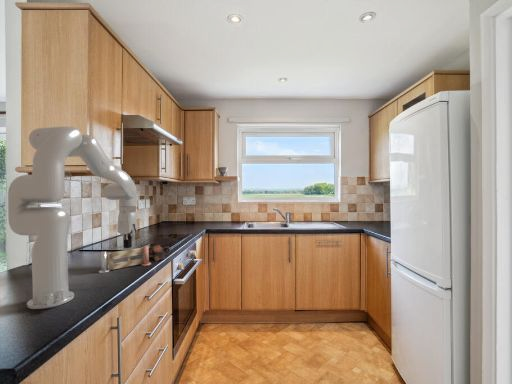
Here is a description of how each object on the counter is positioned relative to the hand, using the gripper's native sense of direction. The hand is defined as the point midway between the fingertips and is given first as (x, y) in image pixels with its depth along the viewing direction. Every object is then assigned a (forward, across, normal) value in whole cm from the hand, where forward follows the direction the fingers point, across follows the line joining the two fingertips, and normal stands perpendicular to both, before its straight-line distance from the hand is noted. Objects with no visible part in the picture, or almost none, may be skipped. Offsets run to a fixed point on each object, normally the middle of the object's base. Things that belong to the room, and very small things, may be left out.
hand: (127, 247), depth 133 cm
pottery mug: (+9, +2, +16) cm, 19 cm away
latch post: (+9, +6, +6) cm, 12 cm away
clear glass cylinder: (+9, 0, -11) cm, 14 cm away
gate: (+8, +2, -1) cm, 9 cm away
